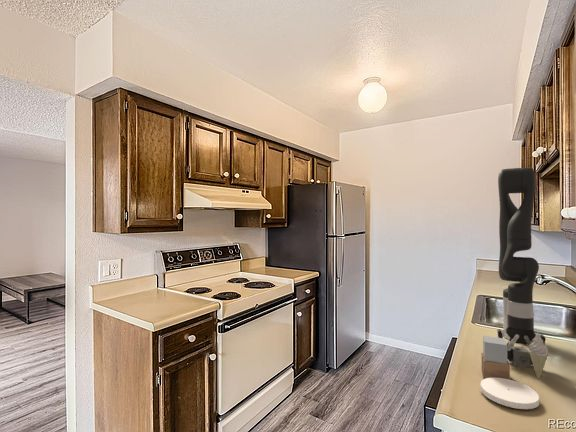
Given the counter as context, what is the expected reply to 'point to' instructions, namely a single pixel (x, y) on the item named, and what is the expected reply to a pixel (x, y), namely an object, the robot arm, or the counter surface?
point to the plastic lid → (509, 393)
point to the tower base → (495, 369)
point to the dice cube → (520, 356)
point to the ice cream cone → (538, 354)
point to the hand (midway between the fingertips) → (520, 362)
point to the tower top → (495, 349)
